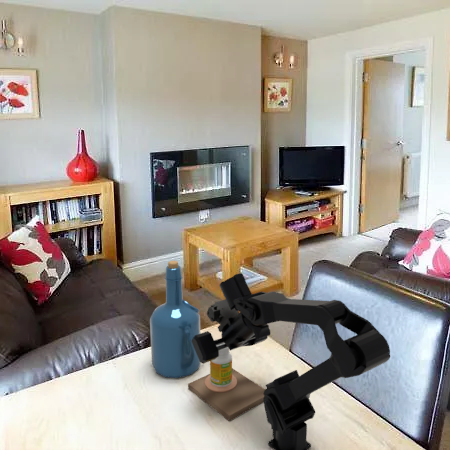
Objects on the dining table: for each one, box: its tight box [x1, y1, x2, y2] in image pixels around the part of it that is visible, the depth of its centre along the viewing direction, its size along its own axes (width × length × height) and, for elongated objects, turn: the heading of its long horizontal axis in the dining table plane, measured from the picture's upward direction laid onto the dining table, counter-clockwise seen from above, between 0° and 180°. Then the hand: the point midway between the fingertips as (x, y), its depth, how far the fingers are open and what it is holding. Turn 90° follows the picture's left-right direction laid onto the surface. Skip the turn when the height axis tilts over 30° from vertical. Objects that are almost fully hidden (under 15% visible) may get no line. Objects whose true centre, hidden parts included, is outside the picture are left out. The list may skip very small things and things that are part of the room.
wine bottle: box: [149, 260, 201, 379], centre depth 122 cm, size 14×13×30 cm
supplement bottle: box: [209, 343, 233, 387], centre depth 114 cm, size 5×5×10 cm
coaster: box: [205, 375, 237, 392], centre depth 115 cm, size 8×8×1 cm
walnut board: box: [187, 367, 266, 422], centre depth 113 cm, size 16×13×2 cm
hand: (217, 350), depth 114 cm, fingers open, 9 cm apart
